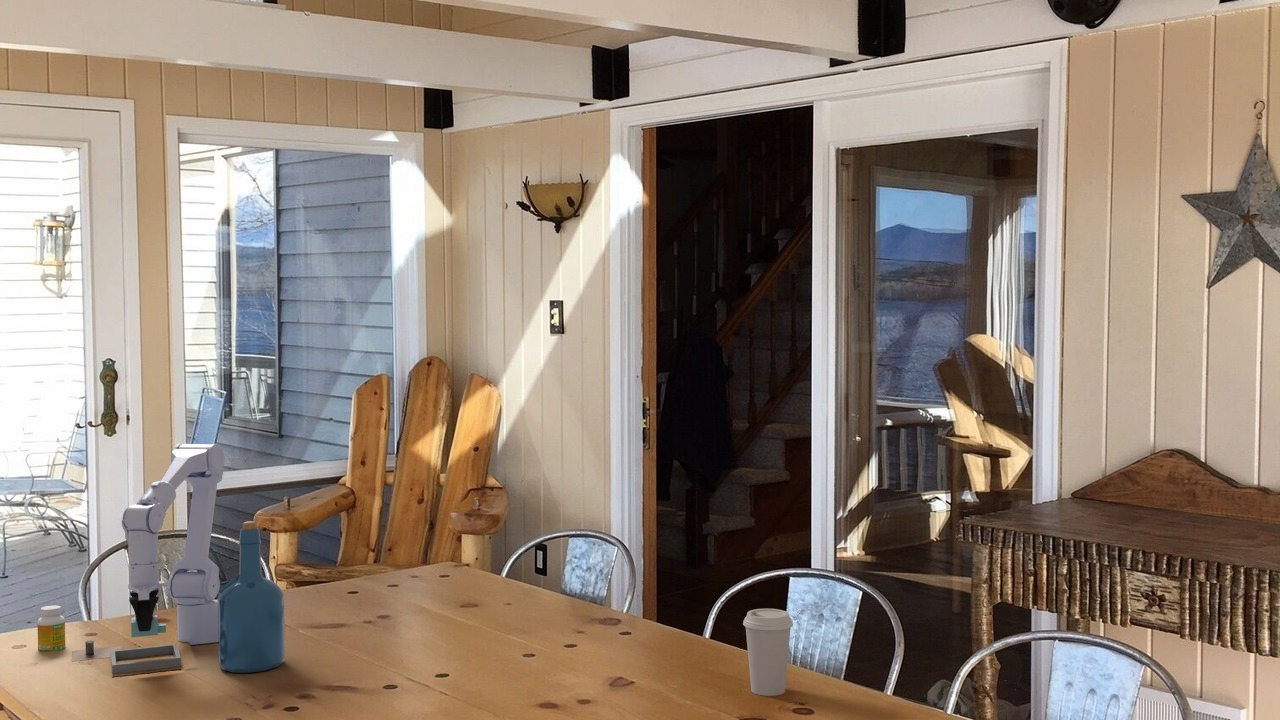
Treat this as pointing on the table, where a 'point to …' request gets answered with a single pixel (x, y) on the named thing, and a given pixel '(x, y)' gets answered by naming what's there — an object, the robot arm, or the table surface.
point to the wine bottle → (250, 613)
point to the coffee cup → (768, 650)
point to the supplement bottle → (51, 629)
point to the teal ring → (154, 629)
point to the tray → (145, 664)
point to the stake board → (97, 653)
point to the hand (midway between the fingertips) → (144, 627)
